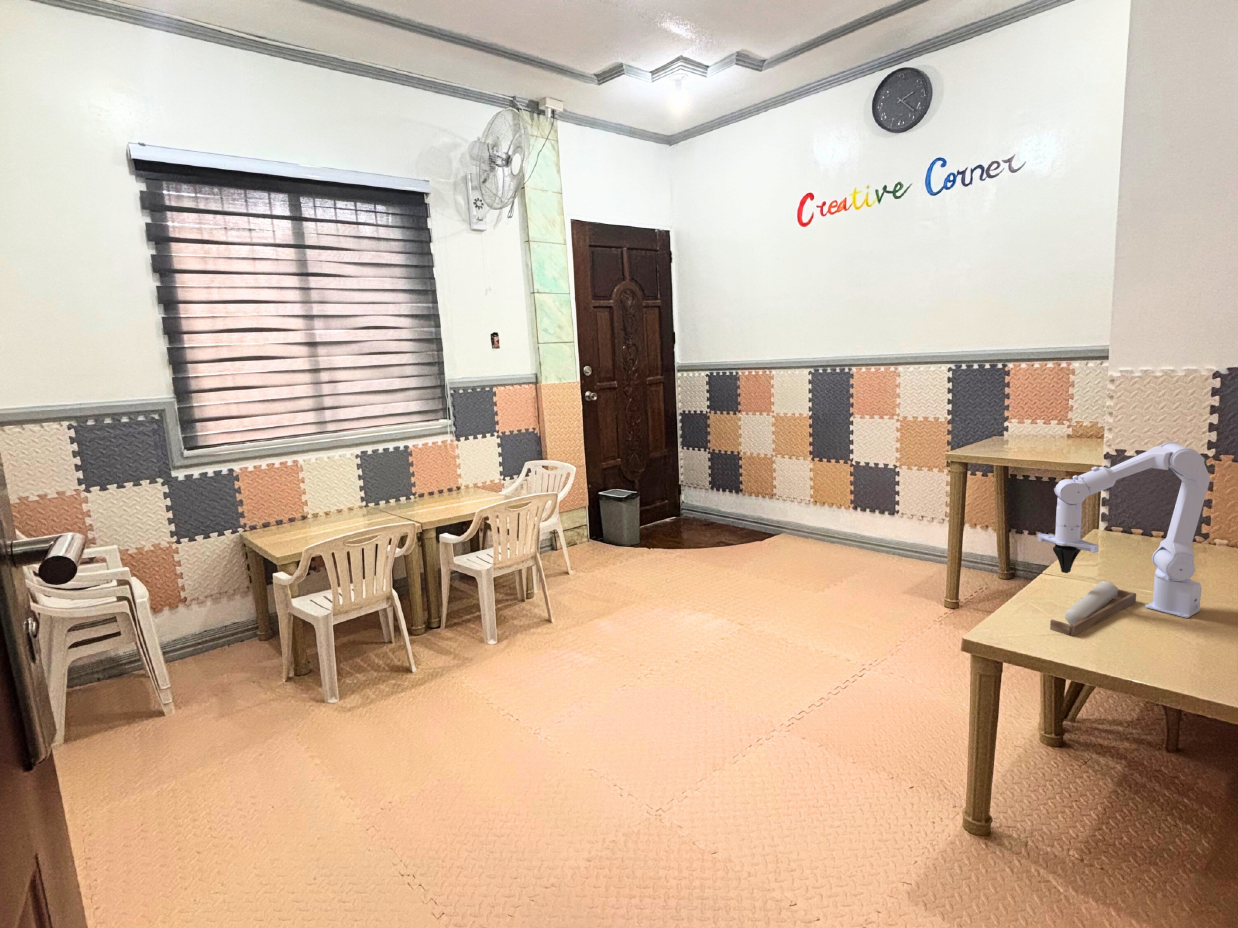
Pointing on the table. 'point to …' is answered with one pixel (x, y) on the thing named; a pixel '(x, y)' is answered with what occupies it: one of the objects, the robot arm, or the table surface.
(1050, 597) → the table surface
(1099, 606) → the tube
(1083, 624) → the bay
